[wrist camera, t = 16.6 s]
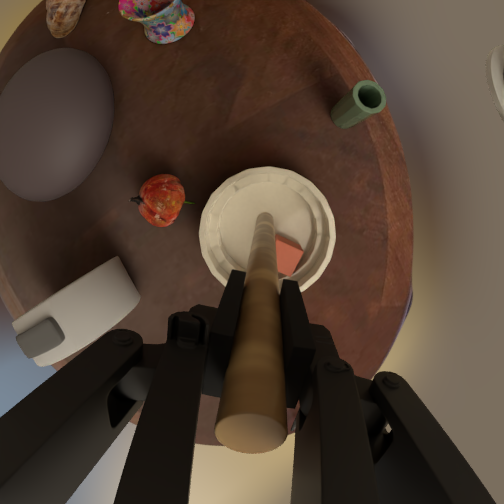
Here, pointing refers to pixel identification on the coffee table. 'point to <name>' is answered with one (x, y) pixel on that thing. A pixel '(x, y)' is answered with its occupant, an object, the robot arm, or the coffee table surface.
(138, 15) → the mug
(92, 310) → the alarm clock
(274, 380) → the stick
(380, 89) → the holder
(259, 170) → the bowl
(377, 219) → the coffee table surface
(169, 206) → the pomegranate
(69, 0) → the seashell
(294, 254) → the block
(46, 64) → the flattened ellipsoid
